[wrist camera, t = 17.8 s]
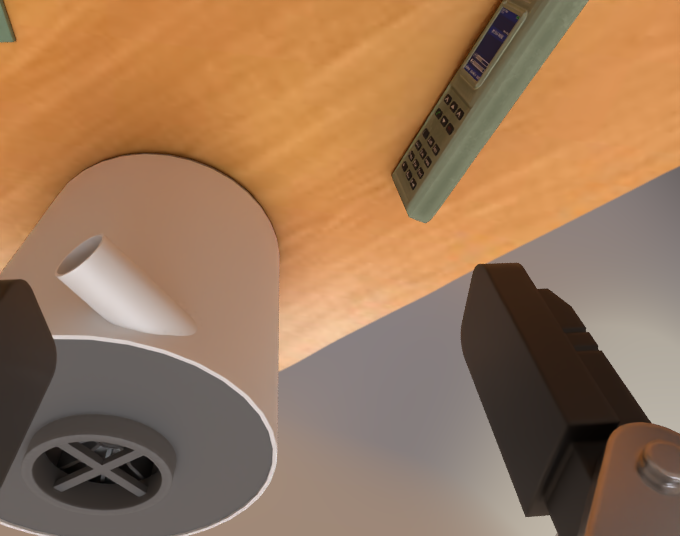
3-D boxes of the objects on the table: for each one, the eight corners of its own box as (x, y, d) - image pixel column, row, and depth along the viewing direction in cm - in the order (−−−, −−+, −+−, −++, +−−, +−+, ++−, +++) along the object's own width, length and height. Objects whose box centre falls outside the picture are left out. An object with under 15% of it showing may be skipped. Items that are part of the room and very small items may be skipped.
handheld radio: (384, 174, 46) (579, -138, 34) (414, 188, 47) (613, -109, 35) (400, 213, 41) (638, -139, 29) (433, 227, 42) (675, -105, 30)
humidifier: (-10, 218, 45) (-216, 451, 27) (182, 97, 41) (95, 277, 22) (156, 359, 57) (94, 589, 39) (319, 279, 53) (338, 496, 34)
